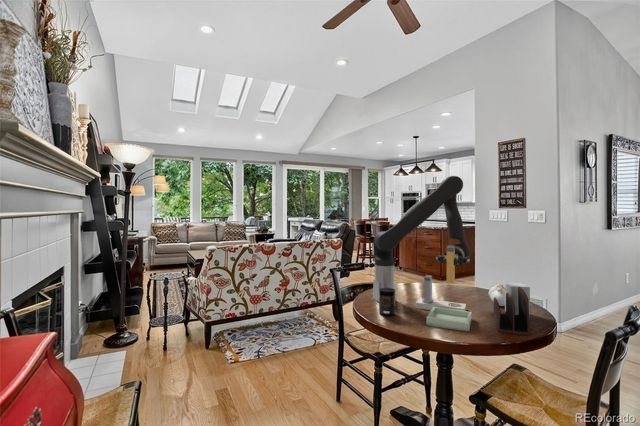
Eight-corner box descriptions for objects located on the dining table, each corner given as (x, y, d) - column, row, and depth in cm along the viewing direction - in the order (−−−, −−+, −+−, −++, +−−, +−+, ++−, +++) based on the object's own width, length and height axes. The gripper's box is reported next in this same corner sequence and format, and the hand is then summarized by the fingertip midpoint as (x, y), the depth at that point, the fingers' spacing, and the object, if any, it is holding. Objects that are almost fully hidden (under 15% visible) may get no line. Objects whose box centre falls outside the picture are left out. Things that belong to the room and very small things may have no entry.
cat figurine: (506, 288, 148) (497, 277, 162) (489, 296, 150) (481, 284, 164) (518, 306, 148) (507, 293, 162) (500, 314, 150) (491, 301, 164)
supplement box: (530, 317, 137) (530, 287, 137) (510, 316, 138) (510, 286, 138) (523, 312, 144) (523, 282, 144) (504, 311, 146) (504, 282, 145)
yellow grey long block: (446, 283, 131) (446, 247, 130) (448, 279, 135) (448, 245, 134) (453, 283, 130) (453, 248, 128) (454, 280, 134) (454, 245, 133)
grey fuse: (424, 308, 150) (424, 277, 149) (426, 305, 154) (426, 275, 154) (429, 309, 148) (430, 277, 148) (431, 306, 153) (432, 275, 153)
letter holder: (520, 318, 137) (520, 284, 136) (529, 336, 118) (530, 296, 118) (492, 315, 140) (493, 282, 140) (498, 332, 122) (498, 293, 122)
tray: (469, 331, 122) (469, 323, 122) (426, 325, 129) (426, 317, 129) (471, 319, 135) (471, 311, 135) (432, 313, 142) (433, 306, 142)
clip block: (416, 308, 150) (416, 300, 150) (419, 303, 157) (419, 296, 157) (464, 314, 141) (464, 307, 141) (466, 309, 148) (466, 302, 147)
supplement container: (394, 311, 145) (394, 288, 145) (395, 317, 138) (395, 292, 138) (378, 311, 146) (378, 287, 146) (379, 316, 139) (379, 291, 139)
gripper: (437, 246, 148) (431, 251, 133) (472, 248, 142) (469, 253, 126) (437, 263, 148) (431, 270, 133) (471, 266, 142) (469, 273, 127)
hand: (450, 262), depth 130 cm, fingers closed on yellow grey long block, 2 cm apart
